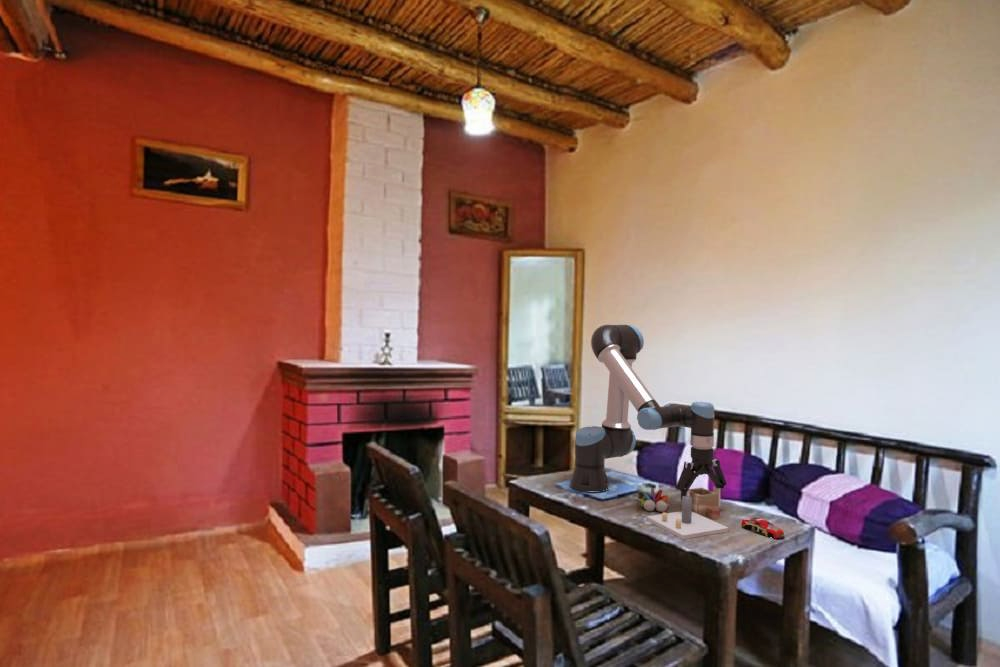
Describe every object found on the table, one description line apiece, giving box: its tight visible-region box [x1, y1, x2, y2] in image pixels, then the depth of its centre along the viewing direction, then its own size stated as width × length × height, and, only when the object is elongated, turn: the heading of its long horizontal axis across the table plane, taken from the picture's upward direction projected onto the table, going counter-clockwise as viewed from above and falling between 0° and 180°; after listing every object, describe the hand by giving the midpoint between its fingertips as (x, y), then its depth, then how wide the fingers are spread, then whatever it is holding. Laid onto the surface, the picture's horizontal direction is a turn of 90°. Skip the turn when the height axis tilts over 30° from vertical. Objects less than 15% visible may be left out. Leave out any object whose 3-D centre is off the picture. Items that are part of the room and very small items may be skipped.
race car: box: [741, 517, 785, 539], centre depth 178 cm, size 13×5×4 cm, turn 31°
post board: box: [645, 496, 730, 540], centre depth 183 cm, size 18×18×9 cm
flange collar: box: [687, 487, 721, 520], centre depth 195 cm, size 12×8×7 cm
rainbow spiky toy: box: [640, 487, 670, 513], centre depth 200 cm, size 8×10×7 cm
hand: (701, 508), depth 197 cm, fingers open, 13 cm apart
